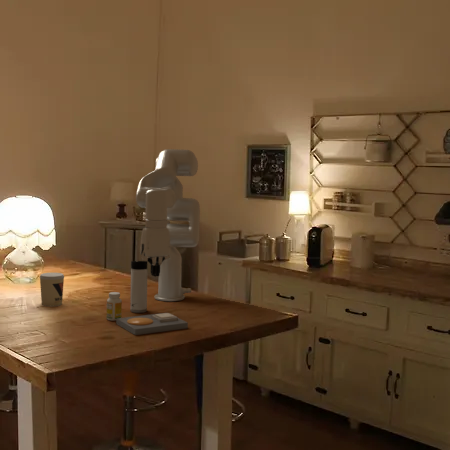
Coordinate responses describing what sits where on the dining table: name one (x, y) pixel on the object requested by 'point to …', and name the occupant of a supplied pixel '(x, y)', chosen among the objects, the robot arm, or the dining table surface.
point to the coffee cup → (51, 289)
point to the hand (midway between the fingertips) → (155, 275)
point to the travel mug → (138, 286)
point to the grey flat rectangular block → (150, 324)
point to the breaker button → (164, 315)
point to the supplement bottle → (114, 306)
